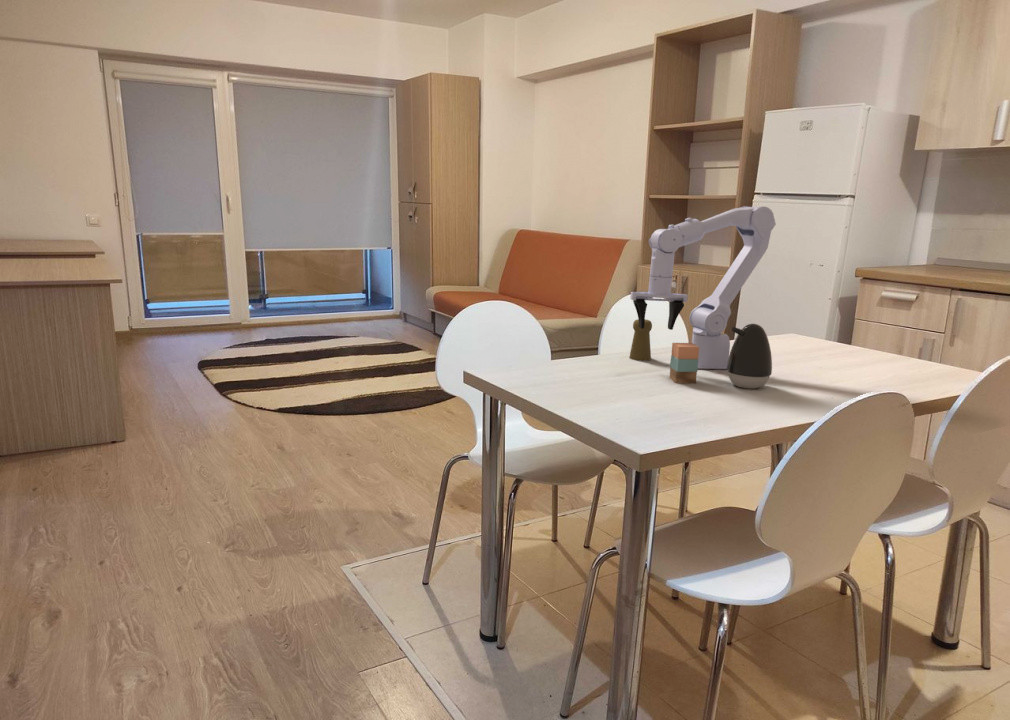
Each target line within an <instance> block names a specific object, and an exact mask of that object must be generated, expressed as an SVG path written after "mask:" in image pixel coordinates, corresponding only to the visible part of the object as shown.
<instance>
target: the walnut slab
mask: <svg viewBox="0 0 1010 720" xmlns="http://www.w3.org/2000/svg"><path fill="white" fill-rule="evenodd" d="M669 367H670V366H669ZM697 373H698V371H697V372H677V371H676V370H674V369H673V368H671V367H670V368H669V379H670V380H671V381H673V383H675V384H696V383H697Z"/></svg>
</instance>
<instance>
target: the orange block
mask: <svg viewBox="0 0 1010 720" xmlns="http://www.w3.org/2000/svg"><path fill="white" fill-rule="evenodd" d="M671 355H673V356H674V357H676V358H677V359H698V356H699V347H698V346H697V345H695V344H693V343H692V342H672V344H671Z"/></svg>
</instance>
